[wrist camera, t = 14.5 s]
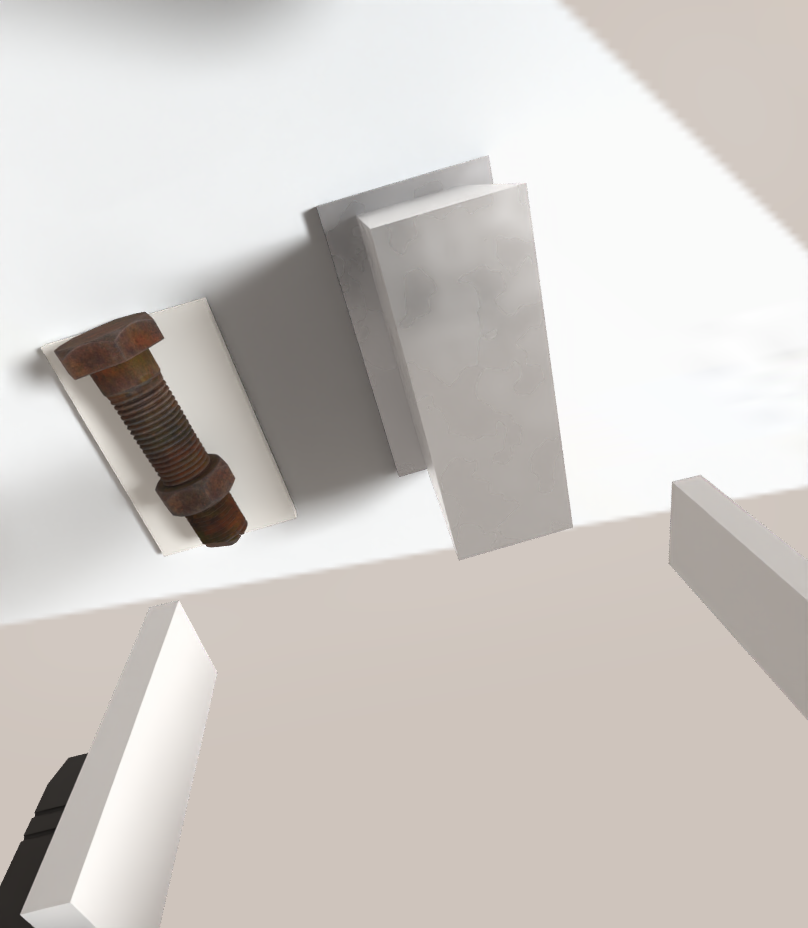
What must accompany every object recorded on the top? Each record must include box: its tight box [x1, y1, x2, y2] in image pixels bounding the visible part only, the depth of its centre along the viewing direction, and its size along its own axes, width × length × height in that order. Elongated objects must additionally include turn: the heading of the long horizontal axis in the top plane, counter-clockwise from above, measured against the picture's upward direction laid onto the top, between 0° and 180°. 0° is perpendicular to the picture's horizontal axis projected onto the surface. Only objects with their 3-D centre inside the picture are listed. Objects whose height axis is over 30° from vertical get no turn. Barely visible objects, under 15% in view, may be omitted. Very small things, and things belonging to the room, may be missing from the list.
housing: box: [316, 155, 573, 560], centre depth 30 cm, size 18×10×13 cm, turn 15°
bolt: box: [54, 312, 248, 547], centre depth 33 cm, size 6×5×15 cm
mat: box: [41, 298, 297, 557], centre depth 36 cm, size 16×10×1 cm, turn 15°
